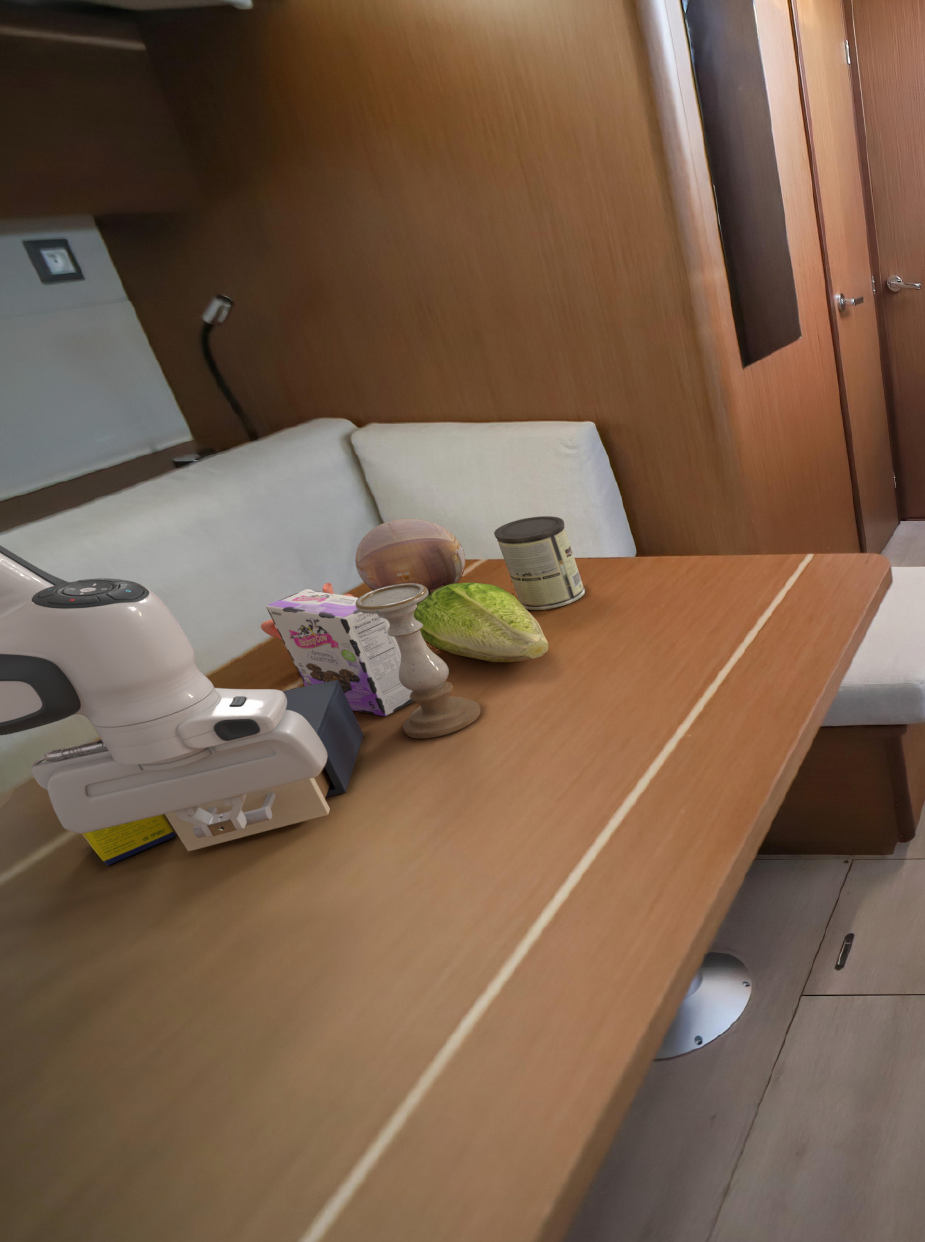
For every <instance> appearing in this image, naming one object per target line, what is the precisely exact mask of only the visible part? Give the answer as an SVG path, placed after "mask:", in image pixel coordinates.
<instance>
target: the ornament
mask: <svg viewBox="0 0 925 1242" xmlns="http://www.w3.org/2000/svg"><path fill="white" fill-rule="evenodd" d="M354 562H355V567H356V571H357V574H358V576H359V577H360V579H361V580H362V581H363V583H364V585H366V586H367V587H368V588H369V590H371V591H373V590H376V589H379V588H382V587H386V586H391V585H396V584H405V583H416V584H421V585H424V586H425V587H426V588H427V589H428V592H429V594H428V596H429V595H430V594H431V593H432V592H433V591H435V590H437V589H439V588H441V587H444V586H446V585H450V584H454V583H460V581H461V580H462V578H463V575H464V573H465V570H466V563H467V561H466V554H465V551H464V547H463V546H462V543H460V541H459V540H458V538H457V537H456V536H455V535H454V534H453V533H452V532H451V531H449V530H448V529H446V528H445V527H443V526H442V525H439V524H437V523H435V522H433V521H430V520H425V519H421V518H399V519H393V520H389V521H387V522H383V523H381V524H379V525H377V526H375V527H374V528H372V529H371V530H370V531H368V532H367V533H366V534H365V535H364V536H363V537H362V539H361V540H360V542H359V543H358V546H357V548H356V551H355V559H354ZM428 596H427V597H428ZM427 597H426V598H427ZM426 598H425V599H426ZM425 599H424V600H425ZM421 602H422V601H421Z"/></svg>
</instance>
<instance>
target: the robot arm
mask: <svg viewBox="0 0 925 1242" xmlns="http://www.w3.org/2000/svg"><path fill="white" fill-rule="evenodd" d="M195 656H196V655H195V650H194V648H193V646H192V644H191V642H190V640H189V639H188V637H187V635H186V632H185V631H184V630H183V628H182V627H181V625H180V624H179V622H178V621H177V618H176V617H175V616H174V615H173V613H172V612H171V610H170V609H169V607H168V606H167V605H166V604H165V602H164V601H162V599H161V598H160V597H158V595H157V594H155V593H154V592H153V591H152V590H151V589H149V588H148V587H146V586H144V585H142V584H141V583H139V582H136V581H131V580H126V579H120V578H103V577H102V578H101V577H99V578H86V579H80V580H75V581H66V580H64V579H62V578H59V577H58V576H55V575H53V574H51V573H49V572H47V571H46V570H43V569H41V568H40V567H38V566H36V565H34V564H33V563H30V562H29V561H27V560H25V559H24V558H23V557H21V556H19V555H17V554H15V553H14V552H13V551H11V550H9V549H7V548H5V547H4V546H3V545H1V544H0V736H7V735H12V734H16V733H20V732H24V731H28V730H32V729H37V728H39V727H43V726H46V725H51V724H53V723H56V722H59V721H63V720H65V719H67V718H69V717H72V716H76V715H79V716H80V715H81V716H84V717H86V718H87V720H88V721H89V723H90V724H91V725H92V727H93V728H94V730H95V732H96V734H97V735H98V736H99V738H100V739H99V740H94V741H90V742H85V743H82V744H81V743H80V744H79V745H78V744H77V745H75V746H71V747H61V748H56V749H53V750H49V751H47V752H44V754H43V756H41V757H39V758H36V760H34V761H33V763H32V764H31V766H30V773H31V775H32V777H33V779H34V780H35V781H36V783H37V784H38V786H40V787H41V788H42V789H44V790H46V791H47V793H48V797H49V800H50V803H51V805H52V808H53V810H54V813H55V815H56V817H57V819H58V821H59V823H60V825H61V826H62V828H64V830H66V831H70V832H72V833H75V834H78V835H79V834H80V835H82V834H83V833H88V832H92V831H96V830H100V829H104V828H109V827H113V826H117V825H121V824H125V823H129V822H133V821H137V820H141V819H146V818H150V817H154V816H158V815H162V814H163V815H165V814H166V813H170V812H175V814H176V815H177V817H178V818H179V819H181V820H183V821H186V822H188V823H191V824H193V825H195V826H198V827H201V828H202V830H203V832H204V833H205V835H206V837H208V838H209V837H213V836H216V835H220V834H224V833H228V832H232V831H235V830H239V829H243V828H245V826H246V823H247V820H246V817H245V815H244V814H243V812H242V810H241V809H242V807H243V804H244V801H245V798H246V795H247V794H248V793H252V792H257V791H261V790H265V789H269V788H273V787H277V786H281V785H285V784H289V783H294V782H298V781H302V780H306V779H310V778H314V777H317V776H318V775H319V774H320V773H321V771H322V770H323V768H324V766H325V764H326V761H327V757H328V756H327V751H326V749H325V747H324V745H323V743H322V741H321V740H320V738H319V736H318V735H317V733H316V732H315V730H314V729H313V728H312V726H311V725H310V724H309V723H308V721H307V720H306V719H305V718H304V717H303V716H301V715H300V714H298V713H296V712H294V711H290V710H286V707H287V698H286V696H285V694H284V693H283V692H282V691H283V690H279V689H273V688H272V689H271V688H268V689H267V688H263V689H262V688H260V689H259V688H258V689H257V688H255V689H253V688H252V689H251V688H248V689H247V688H222V687H215V686H214V684H213V682H212V681H211V680H210V679H209V678H208V677H207V676H206V675H205V674H204V673H202V672H201V670H200V669H199V668H198V665H197V663H196V657H195ZM220 800H222V802H223V804H224V805H225V806H230V805H233V806H232V809H231V811H229V812H225V813H221V814H216V815H212V814H210V813H208V812H206V811H205V810H203V809H201V808H199V806H200V805H203V804H207V803H211V802H215V801H220Z"/></svg>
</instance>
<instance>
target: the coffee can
mask: <svg viewBox="0 0 925 1242" xmlns="http://www.w3.org/2000/svg"><path fill="white" fill-rule="evenodd" d="M493 532H494V533H493V535H494V537H495V539H496V541H497V544H498V546H499V549H500V552H501V555H502V557H503V560H504V562H505V565H506V568H507V571H508V574H509V577H510V579H511V583H512V585H513V588H514V591H515V594H516V596H517V599H518V601H519V602H520V603H521V604H522V605H523V606H524V608H525V609H526V610H527V611H528V610H529V611H546V610H552V609H556V608H557V609H558V608H560V607H563V606H568V605H570V604H572V603H574V602H577V601H578V600H579V599H581V598H582V597H584V595H585V593H586V589H585V587H584V584H583V581H582V578H581V575H580V571H579V568H578V566H577V562H576V559H575V555H574V552H573V550H572V546H571V542H570V541H569V540H570V539H569V537H568V534H567V531H566V527H565V521H564V519H563V518H561V517H558V516H553V515H552V516H550V515H547V516H545V515H541V516H532V517H526V518H520V519H516V520H514V521H513V520H512V521H510V522H508V523H505V524H502V525H501V526H499V527H497V528H496V529H495V530H494V531H493Z"/></svg>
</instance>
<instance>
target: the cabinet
mask: <svg viewBox="0 0 925 1242" xmlns="http://www.w3.org/2000/svg"><path fill="white" fill-rule="evenodd" d="M281 691H282V692H283V693H284V694H285V696H286V698H287V707H286V710H290V711H294V712H296V713H298V714H300V715H301V716H303V717H304V718H305V719H306V720H307V721H308V723H309V724H310V725H311V726H312V728H313V729H314V730H315V732H316V733H317V735H318V736H319V738H320V740H321V741H322V743H323V745H324V747H325V749H326V751H327V756H328V757H327V761H326V764H325V766H324V767H325V769H326V771H327V773H328V775H329V777H330V779H331V783H330V786H329V789H328V792H327V795H326V798H330V797H333V796H337V795H340V794H345V793H346V792H347V790H348V786H349V784H350V780H351V777H352V774H353V770H354V768H355V764H356V761H357V758H358V755H359V751H360V748H361V745H362V743H363V738H364V735H365V734H364V732H363V730H362V728H361V726H360V724H359V722H358V720H357V717H356V715H355V714H354V711H353V710H352V709H351V707H350V705H349V703H348V700H347V698H346V696H345V694H344V692H343V690H342V688H341V686H340V683H339V681H338V680H333V681H328V682H324V683H319V684H314V685H309V686H305V685H304V686H300V687H294V688H290V689H285V690H281Z"/></svg>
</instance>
